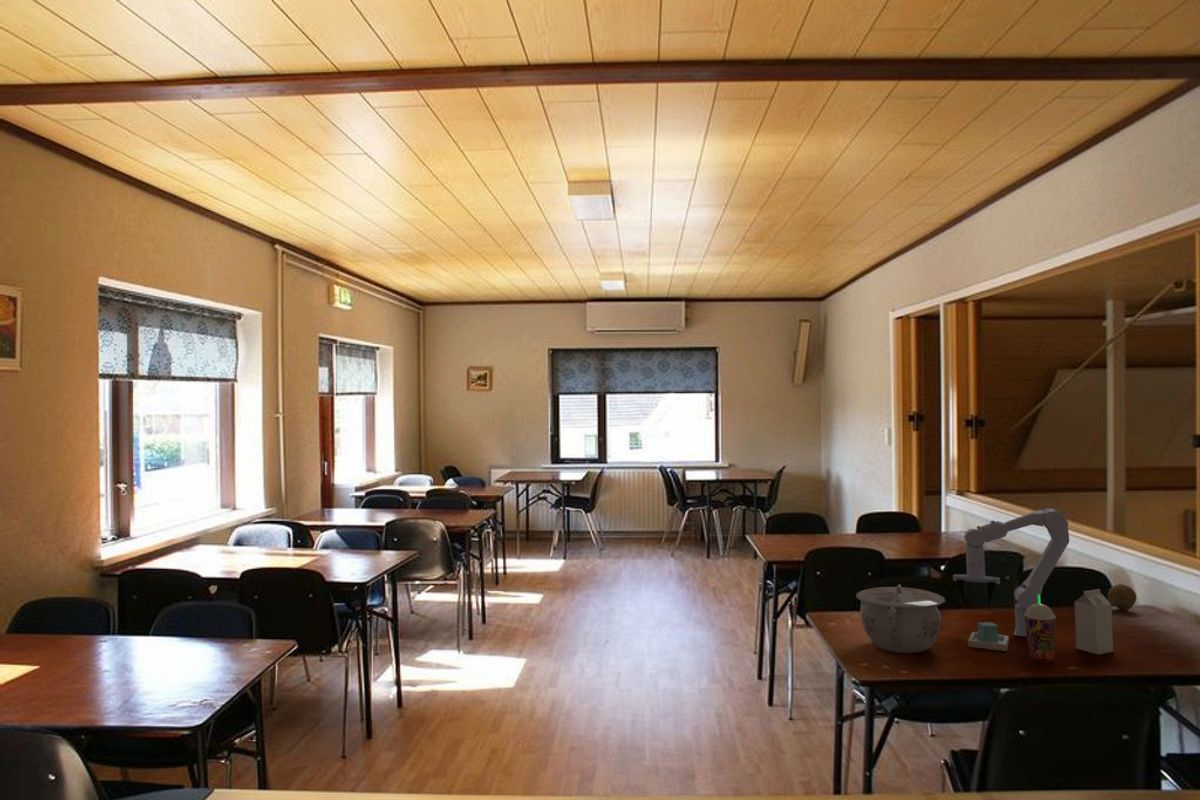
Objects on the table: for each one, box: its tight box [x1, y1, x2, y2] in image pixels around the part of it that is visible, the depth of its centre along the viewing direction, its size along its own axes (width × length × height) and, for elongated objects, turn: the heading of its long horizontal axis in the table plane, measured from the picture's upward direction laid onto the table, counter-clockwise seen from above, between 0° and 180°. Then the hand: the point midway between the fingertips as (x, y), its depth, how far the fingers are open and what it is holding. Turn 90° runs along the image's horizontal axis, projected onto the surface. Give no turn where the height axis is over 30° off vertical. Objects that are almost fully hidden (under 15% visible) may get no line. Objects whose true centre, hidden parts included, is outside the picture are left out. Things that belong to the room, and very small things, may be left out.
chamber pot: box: [855, 583, 946, 655], centre depth 253 cm, size 28×28×21 cm
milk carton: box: [1073, 588, 1114, 655], centre depth 244 cm, size 7×7×19 cm
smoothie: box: [1024, 595, 1057, 664], centre depth 236 cm, size 8×8×20 cm
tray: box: [967, 631, 1010, 652], centre depth 253 cm, size 11×11×2 cm
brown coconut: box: [1107, 584, 1137, 612], centre depth 290 cm, size 9×9×10 cm
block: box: [976, 621, 999, 643], centre depth 254 cm, size 4×4×6 cm
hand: (977, 602), depth 269 cm, fingers open, 7 cm apart
